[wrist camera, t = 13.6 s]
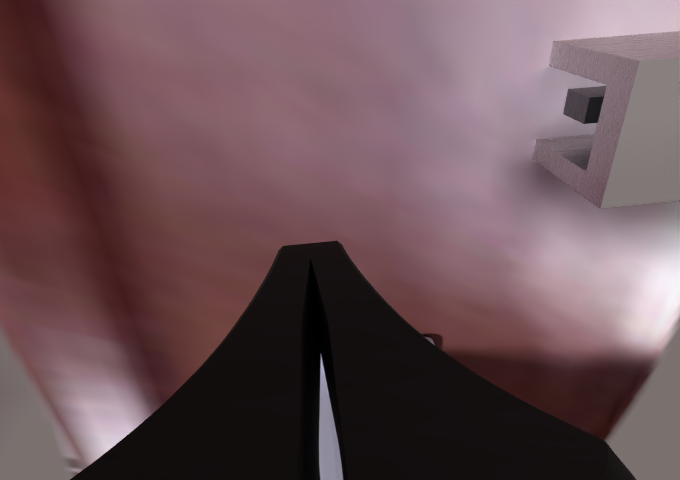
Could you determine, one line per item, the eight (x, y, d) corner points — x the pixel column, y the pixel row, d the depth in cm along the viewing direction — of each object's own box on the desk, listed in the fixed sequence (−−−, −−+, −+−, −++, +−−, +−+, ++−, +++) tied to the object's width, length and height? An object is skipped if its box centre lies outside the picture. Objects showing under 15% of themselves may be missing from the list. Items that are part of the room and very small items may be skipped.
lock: (532, 159, 20) (599, 208, 15) (552, 41, 17) (640, 60, 13) (703, 142, 20) (816, 187, 16) (747, 25, 18) (895, 39, 13)
